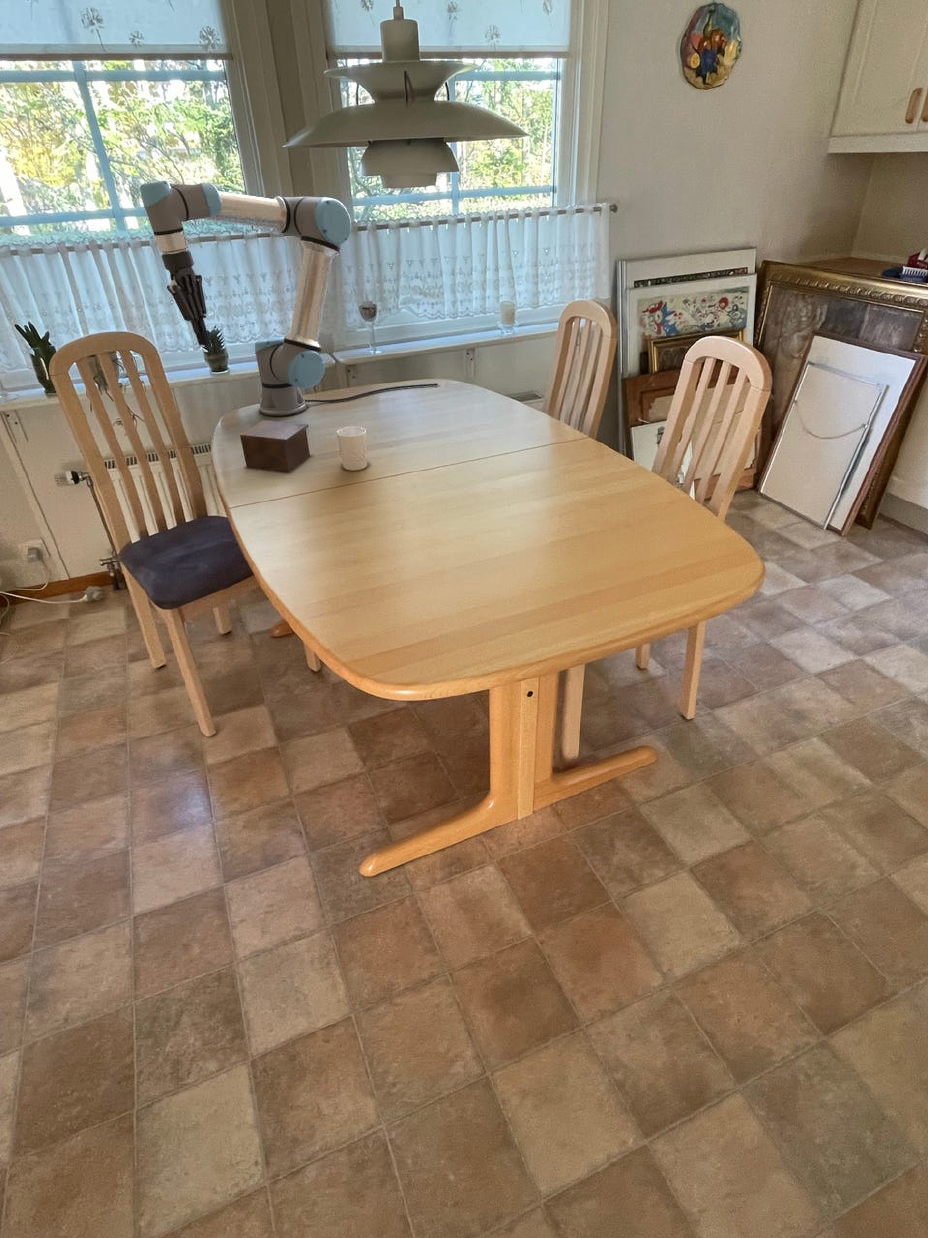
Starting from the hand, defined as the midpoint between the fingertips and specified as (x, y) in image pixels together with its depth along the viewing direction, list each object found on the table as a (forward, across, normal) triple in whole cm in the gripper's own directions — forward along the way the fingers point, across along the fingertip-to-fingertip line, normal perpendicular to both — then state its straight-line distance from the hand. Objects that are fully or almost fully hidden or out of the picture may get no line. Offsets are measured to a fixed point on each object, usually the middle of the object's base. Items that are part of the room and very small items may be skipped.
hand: (204, 343), depth 196 cm
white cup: (+32, +10, +44) cm, 55 cm away
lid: (+21, +12, +23) cm, 33 cm away
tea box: (+30, +12, +22) cm, 39 cm away
